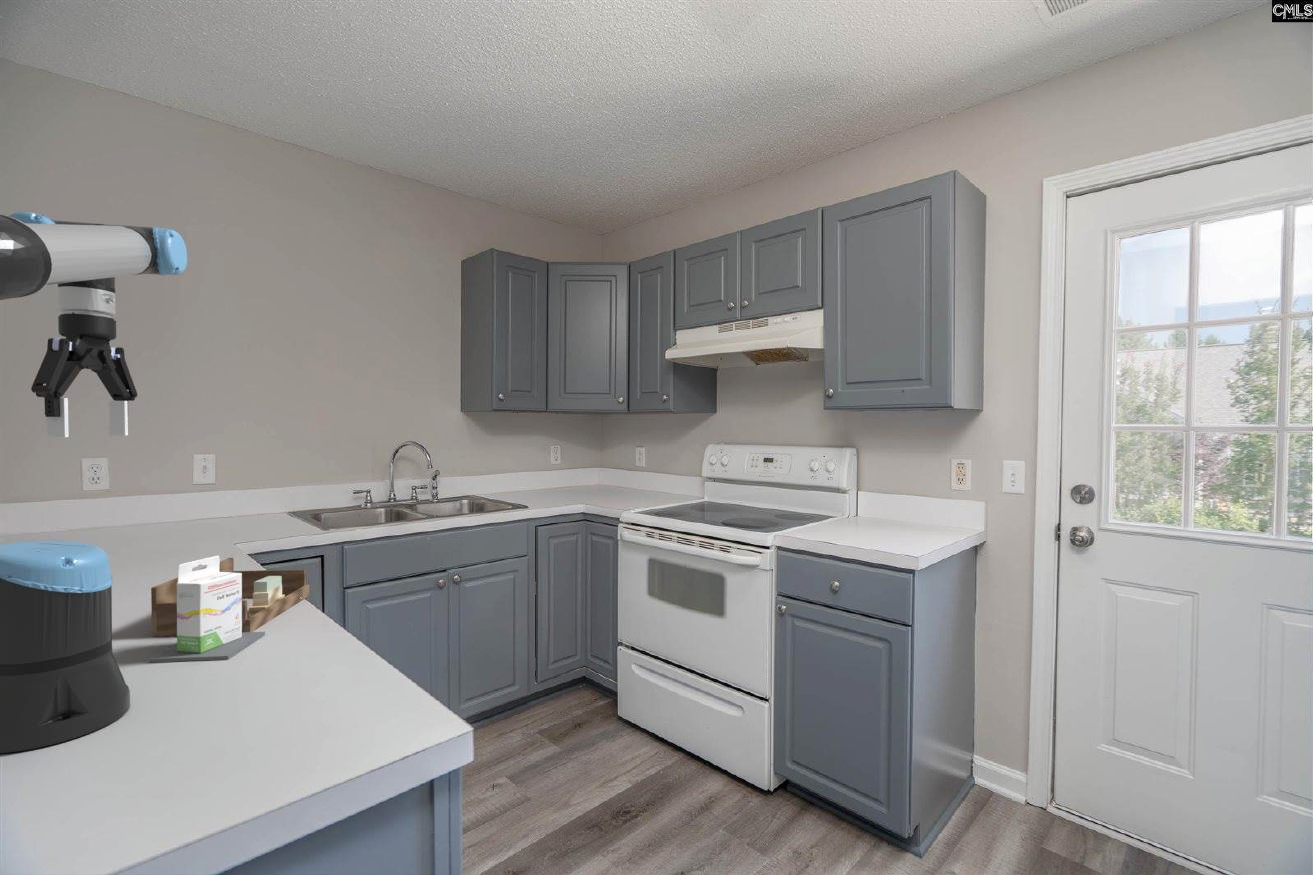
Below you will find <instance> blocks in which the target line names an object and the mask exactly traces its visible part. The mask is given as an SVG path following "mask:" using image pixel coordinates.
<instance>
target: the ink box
mask: <svg viewBox="0 0 1313 875" xmlns="http://www.w3.org/2000/svg"><path fill="white" fill-rule="evenodd" d="M220 561H221V557H220V556H219V555H215V556H210V557H205V558H200V559H197V560H193V561H188V562H184V563H179V565H178V567H177V568H178V569H177V578H178V583H177V636H176V644H177V651H181V652H191V653H202V652H205V651H207V650H210V649H213V648H215V647H218V646H220V645H223V644H225V643H228V642H231V641H233V640H236V639H238V638H241V637H242V600H243V598H242V573H230V572H219V565H220ZM199 565H201V566H205V565H206V566H205V567H206V568H205V569H202V568H200V569H201V570H199V569H197V571H196V570H194V571H193V569H194V568H197V567H198V566H199Z"/></svg>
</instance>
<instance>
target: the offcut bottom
mask: <svg viewBox="0 0 1313 875" xmlns="http://www.w3.org/2000/svg"><path fill="white" fill-rule="evenodd" d="M284 597H285V594H284V595H282V596H281V597H280V598H278V599H277V600H275V601H274V602H272V603H271V604H270V605H272V604H274V603H275V602H277V601H279V600H280V599H282V598H284ZM270 605H264V606H253V604H252V605H251V606H249V607H248V618H250V617H251V616H253V615H255V614H257V613H258V612H260V611H262V610H263V609H265V608H267V607H269V606H270Z"/></svg>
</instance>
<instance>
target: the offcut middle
mask: <svg viewBox="0 0 1313 875" xmlns="http://www.w3.org/2000/svg"><path fill="white" fill-rule="evenodd" d="M281 596H282V586H279V587H277V588H275V589H272V590H270V591H268V592H254V593H253V598H252V605H253V606H264V605H270V604H271V603H272V602H274V601H275V600H277V599H278V598H280V597H281Z"/></svg>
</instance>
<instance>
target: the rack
mask: <svg viewBox="0 0 1313 875" xmlns="http://www.w3.org/2000/svg"><path fill="white" fill-rule="evenodd" d="M206 567H207V566H205V567H202V568H199V569H197V570H201V569H205V568H206ZM197 570H195V571H197ZM219 572H230V573H242V632H255V631H256V630H258V629H259V628H261V627H262V626H264V625H266V624H267V623H269V622H270V621H271V620H273V619H275V618H276V617H279V616H280V615H281V614H283V613H285V612H286V611H287V610H290V609H291V608H292V607H294V606H296V605H297V604H299V603H301V602H302V601H303V600H305V599H307V598H308V597H310V594H311V592H310V586H311V585H310V584H307V580H306V579H307V578H306V577H307V576H306V574H307V570H306V569H305V568H304V569H303V568H301V569H300V568H299V569H267V570H266V569H265V570H263V569H261V570H260V569H259V570H258V569H257V570H234V557H228V558H225V559H223V560H220V565H219ZM268 576H282V595H284V594H285V597H284V598H282V599H280V600H279V601H277V602H275V603H274V604H272V605H270V606H269V607H267V608H265V609H263V610H262V611H260V612H258V613H257V614H255V615H253V616H251V617H250V618H249V617H248V599H253V593H254V582H255V581H258V580H260V579H263V578H265V577H268ZM177 583H178V577H175V578H174V579H170V580H168V581H165V582H163V583H160V584H158V585H155V586H152V587H151V588H150V591H151V595H150V596H151V601H150V603H151V605H150V606H151V637H177ZM300 597H301V598H302V599H303V600H302V599H301V598H300ZM243 599H244V600H243ZM246 599H247V600H246Z"/></svg>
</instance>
